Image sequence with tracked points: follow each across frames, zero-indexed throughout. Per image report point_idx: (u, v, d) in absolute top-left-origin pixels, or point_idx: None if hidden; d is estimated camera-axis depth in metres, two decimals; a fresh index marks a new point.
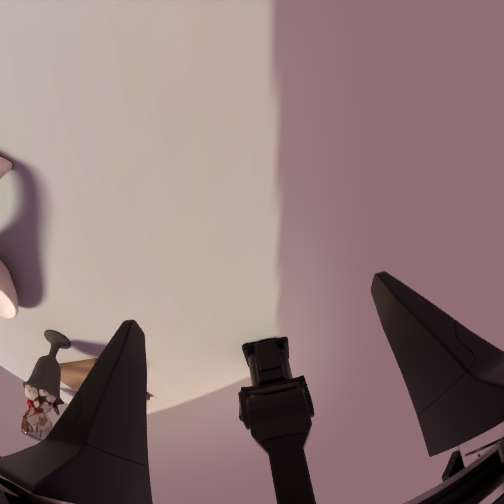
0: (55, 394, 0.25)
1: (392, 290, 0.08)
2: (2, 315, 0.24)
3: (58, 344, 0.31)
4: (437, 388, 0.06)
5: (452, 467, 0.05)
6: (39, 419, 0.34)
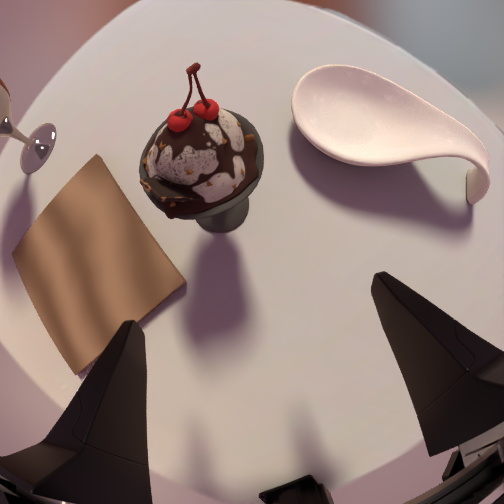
0: None
1: (392, 290, 0.08)
2: (298, 113, 0.21)
3: None
4: (437, 388, 0.06)
5: (452, 467, 0.05)
6: None
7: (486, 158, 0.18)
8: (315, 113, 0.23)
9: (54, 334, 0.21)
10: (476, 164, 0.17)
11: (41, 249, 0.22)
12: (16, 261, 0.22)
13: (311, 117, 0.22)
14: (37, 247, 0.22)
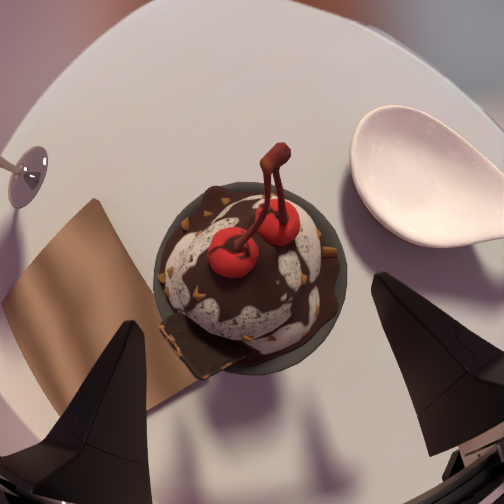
0: None
1: (392, 290, 0.08)
2: (359, 171, 0.17)
3: None
4: (437, 388, 0.06)
5: (452, 467, 0.05)
6: None
7: None
8: (373, 168, 0.19)
9: (55, 402, 0.17)
10: None
11: (33, 308, 0.18)
12: (6, 314, 0.18)
13: (369, 173, 0.18)
14: (28, 304, 0.18)
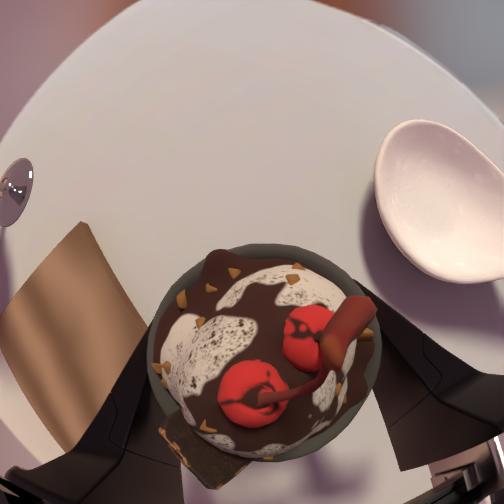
0: None
1: None
2: (384, 194, 0.15)
3: None
4: (403, 405, 0.06)
5: None
6: None
7: None
8: (397, 188, 0.16)
9: (53, 431, 0.15)
10: None
11: (24, 337, 0.15)
12: None
13: (393, 195, 0.16)
14: (19, 333, 0.15)
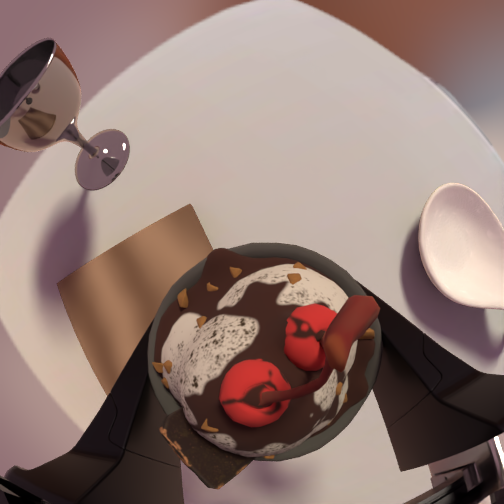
0: None
1: None
2: (424, 232, 0.20)
3: None
4: (403, 405, 0.06)
5: None
6: (59, 124, 0.13)
7: None
8: (431, 229, 0.22)
9: (108, 387, 0.21)
10: None
11: (101, 296, 0.22)
12: (62, 295, 0.22)
13: (428, 233, 0.22)
14: (95, 291, 0.22)
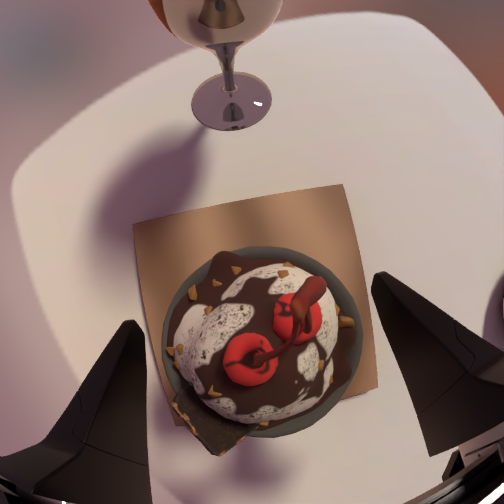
0: None
1: (392, 290, 0.08)
2: None
3: None
4: (437, 388, 0.06)
5: (452, 467, 0.05)
6: (252, 26, 0.11)
7: None
8: None
9: None
10: None
11: (201, 257, 0.19)
12: (137, 242, 0.19)
13: None
14: (193, 249, 0.19)
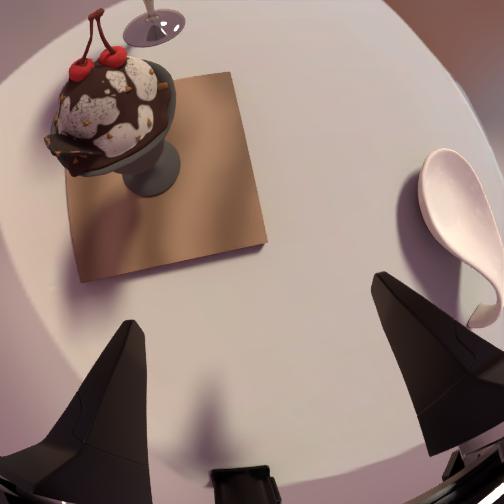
0: None
1: (392, 290, 0.08)
2: (426, 170, 0.22)
3: (152, 170, 0.19)
4: (437, 388, 0.06)
5: (452, 467, 0.05)
6: None
7: None
8: (430, 178, 0.24)
9: (77, 226, 0.19)
10: (499, 301, 0.20)
11: None
12: None
13: (427, 179, 0.23)
14: None
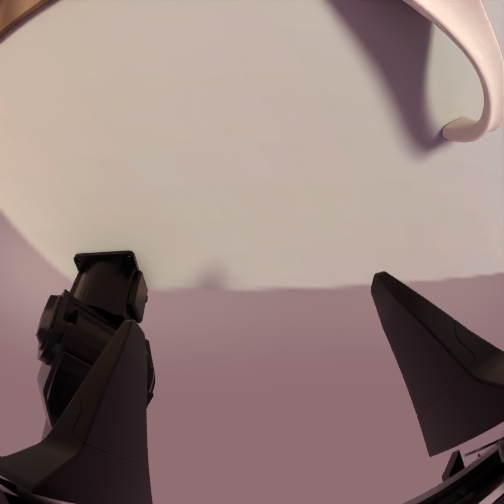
0: None
1: (392, 290, 0.08)
2: None
3: None
4: (437, 388, 0.06)
5: (452, 467, 0.05)
6: None
7: (498, 119, 0.12)
8: None
9: None
10: (487, 99, 0.11)
11: None
12: None
13: None
14: None
